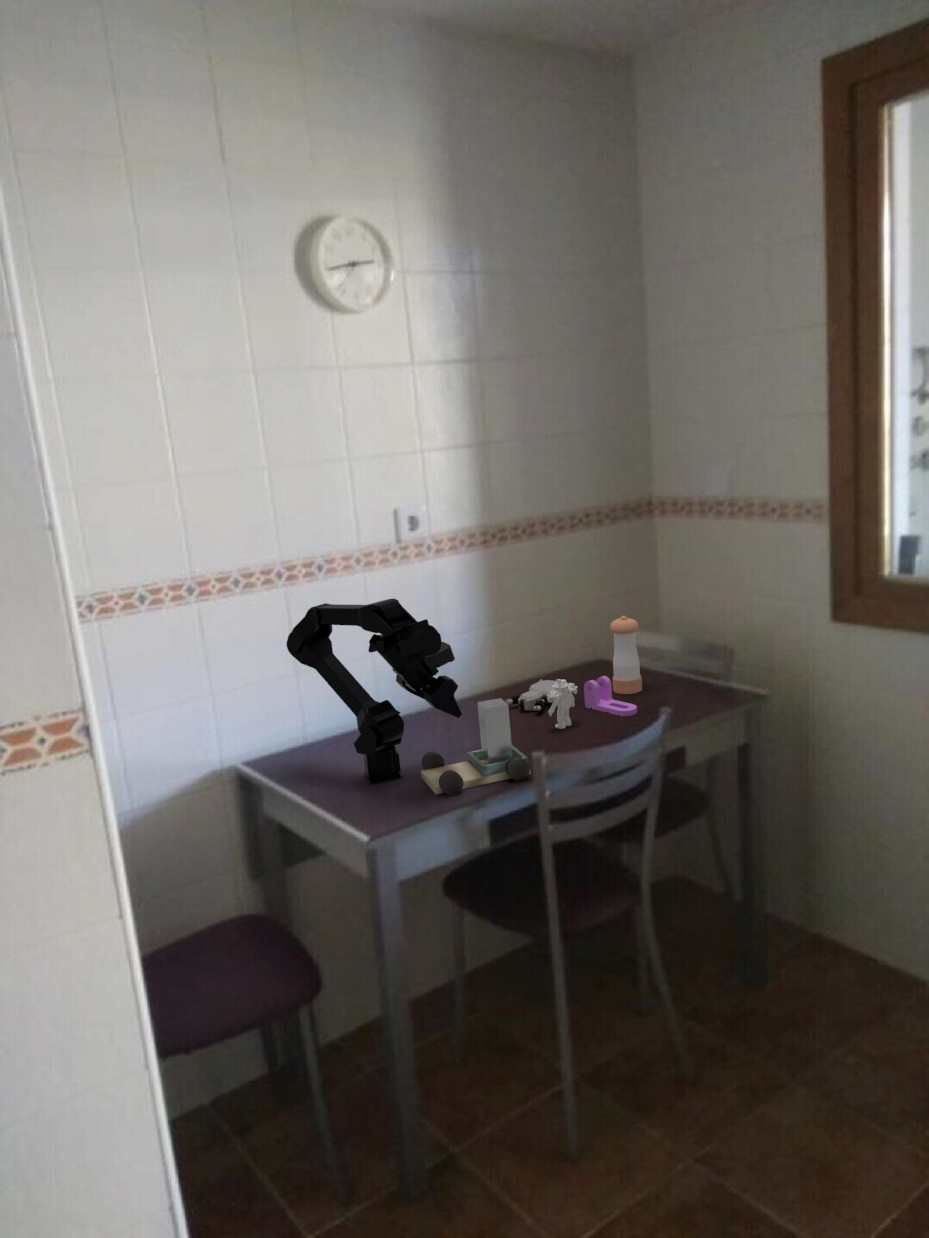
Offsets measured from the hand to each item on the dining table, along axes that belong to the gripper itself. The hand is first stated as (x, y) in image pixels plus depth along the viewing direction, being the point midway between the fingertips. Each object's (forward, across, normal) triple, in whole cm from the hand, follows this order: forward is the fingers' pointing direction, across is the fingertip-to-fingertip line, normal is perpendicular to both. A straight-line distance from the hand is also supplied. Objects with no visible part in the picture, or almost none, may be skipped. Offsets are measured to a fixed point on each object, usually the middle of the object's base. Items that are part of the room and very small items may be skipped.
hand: (450, 710), depth 194 cm
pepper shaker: (+45, +21, -40) cm, 64 cm away
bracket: (+38, +11, -30) cm, 50 cm away
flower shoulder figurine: (+29, +8, -18) cm, 36 cm away
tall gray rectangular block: (+13, -6, +1) cm, 15 cm away
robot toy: (+32, +25, -21) cm, 46 cm away
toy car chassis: (+12, -6, +6) cm, 14 cm away
